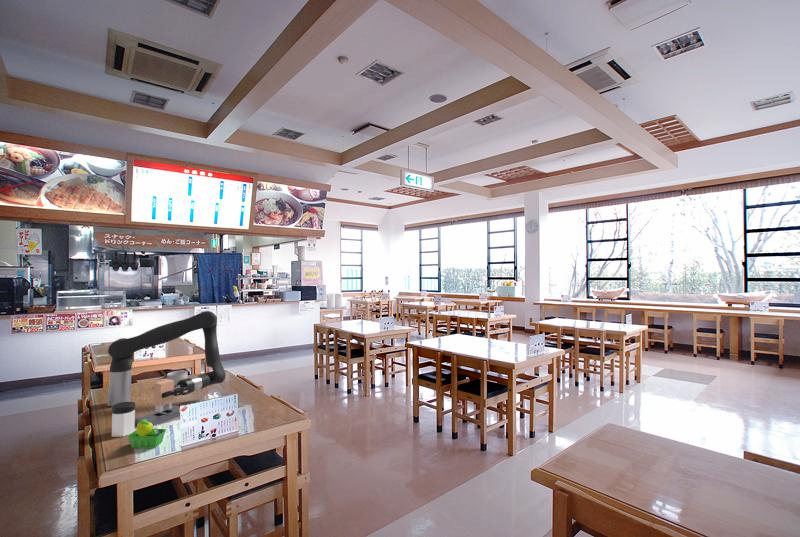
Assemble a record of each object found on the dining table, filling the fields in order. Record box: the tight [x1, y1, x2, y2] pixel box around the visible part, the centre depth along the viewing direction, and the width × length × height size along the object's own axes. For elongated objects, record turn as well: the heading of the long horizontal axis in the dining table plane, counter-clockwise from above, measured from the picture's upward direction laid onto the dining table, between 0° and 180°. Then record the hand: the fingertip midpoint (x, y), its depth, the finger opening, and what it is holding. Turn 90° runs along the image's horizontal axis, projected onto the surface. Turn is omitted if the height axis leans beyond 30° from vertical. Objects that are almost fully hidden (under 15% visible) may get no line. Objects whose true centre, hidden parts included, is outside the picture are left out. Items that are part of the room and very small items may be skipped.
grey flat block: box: [135, 404, 181, 427], centre depth 186 cm, size 20×9×2 cm, turn 160°
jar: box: [111, 401, 136, 438], centre depth 168 cm, size 9×8×12 cm
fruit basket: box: [127, 419, 167, 449], centre depth 157 cm, size 11×9×11 cm
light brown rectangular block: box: [153, 379, 175, 412], centre depth 186 cm, size 7×4×13 cm, turn 160°
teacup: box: [166, 369, 189, 385], centre depth 240 cm, size 14×11×8 cm
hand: (158, 395), depth 183 cm, fingers closed on light brown rectangular block, 4 cm apart
